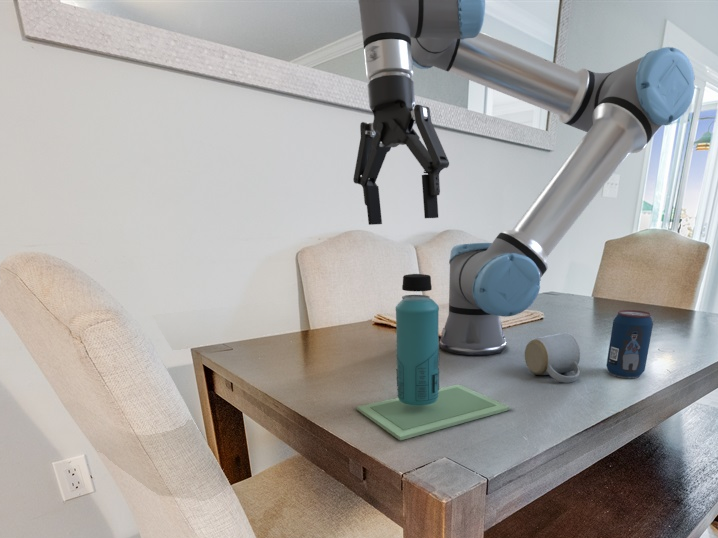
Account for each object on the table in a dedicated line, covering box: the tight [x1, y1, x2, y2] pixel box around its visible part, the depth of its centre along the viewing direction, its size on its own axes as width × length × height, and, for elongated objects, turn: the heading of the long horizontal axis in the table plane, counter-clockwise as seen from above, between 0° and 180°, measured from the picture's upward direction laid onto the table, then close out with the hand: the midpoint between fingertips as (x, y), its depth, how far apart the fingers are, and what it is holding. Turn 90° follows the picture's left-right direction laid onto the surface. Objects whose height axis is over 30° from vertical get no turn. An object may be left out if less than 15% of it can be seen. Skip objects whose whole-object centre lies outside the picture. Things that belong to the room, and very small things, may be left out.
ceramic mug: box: [524, 331, 581, 384], centre depth 88 cm, size 11×8×8 cm
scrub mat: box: [356, 383, 510, 442], centre depth 72 cm, size 20×13×1 cm, turn 124°
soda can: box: [605, 309, 654, 379], centre depth 88 cm, size 7×7×12 cm
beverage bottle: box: [395, 273, 441, 406], centre depth 68 cm, size 6×7×20 cm
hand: (402, 221), depth 81 cm, fingers open, 13 cm apart
